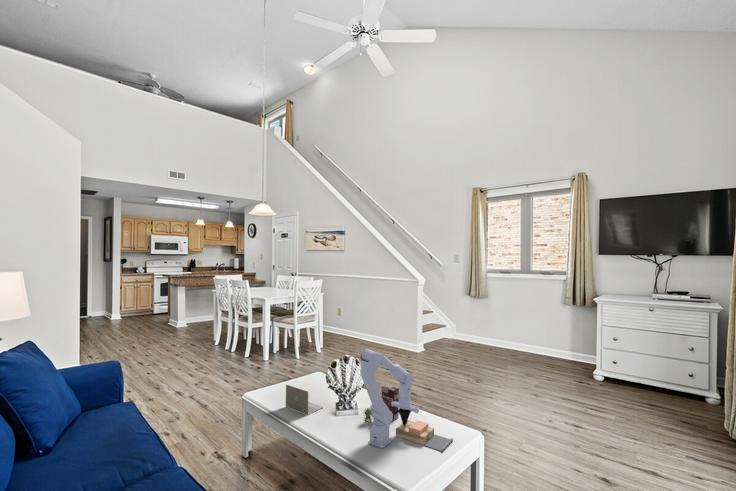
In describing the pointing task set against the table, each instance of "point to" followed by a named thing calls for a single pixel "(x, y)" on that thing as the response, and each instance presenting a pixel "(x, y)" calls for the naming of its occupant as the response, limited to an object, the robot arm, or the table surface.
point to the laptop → (299, 401)
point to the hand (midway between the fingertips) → (404, 423)
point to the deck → (421, 439)
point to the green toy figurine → (367, 415)
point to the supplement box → (391, 399)
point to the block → (418, 427)
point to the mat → (438, 443)
